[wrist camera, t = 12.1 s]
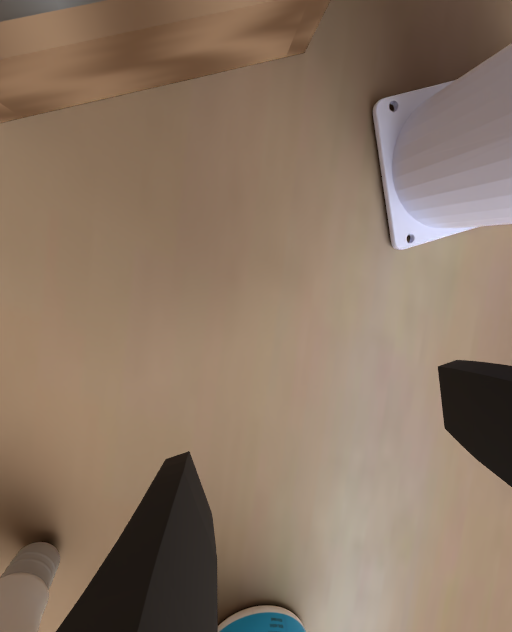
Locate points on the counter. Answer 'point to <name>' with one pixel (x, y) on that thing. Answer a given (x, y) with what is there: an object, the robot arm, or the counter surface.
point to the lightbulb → (27, 587)
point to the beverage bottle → (262, 620)
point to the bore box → (136, 45)
